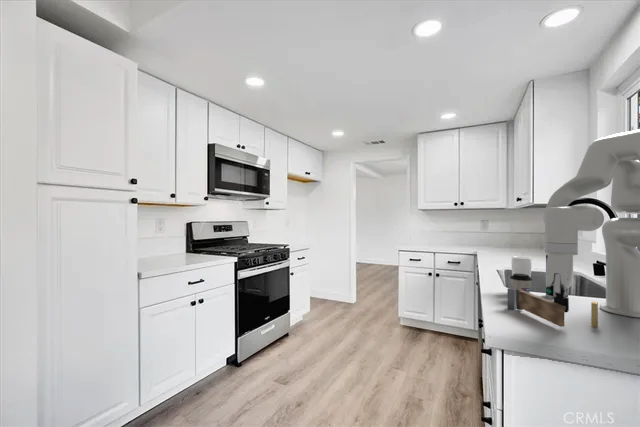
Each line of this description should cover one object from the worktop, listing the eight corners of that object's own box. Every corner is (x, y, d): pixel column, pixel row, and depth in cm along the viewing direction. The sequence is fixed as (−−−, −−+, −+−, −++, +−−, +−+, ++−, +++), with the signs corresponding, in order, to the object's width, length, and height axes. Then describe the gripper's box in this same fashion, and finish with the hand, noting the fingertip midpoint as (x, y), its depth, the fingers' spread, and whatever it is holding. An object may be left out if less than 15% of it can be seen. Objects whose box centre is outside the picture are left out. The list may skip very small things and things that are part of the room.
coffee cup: (505, 299, 115) (505, 273, 115) (519, 297, 117) (519, 272, 117) (522, 304, 108) (522, 277, 108) (536, 303, 110) (536, 276, 110)
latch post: (592, 325, 89) (592, 301, 89) (597, 326, 88) (597, 302, 88) (591, 326, 87) (591, 302, 87) (596, 327, 87) (596, 303, 87)
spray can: (558, 295, 121) (558, 245, 121) (566, 299, 115) (566, 247, 115) (543, 294, 122) (543, 245, 122) (550, 298, 117) (550, 247, 117)
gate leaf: (515, 308, 103) (515, 289, 103) (520, 308, 103) (520, 289, 103) (559, 329, 84) (559, 306, 84) (566, 329, 84) (566, 306, 84)
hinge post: (509, 307, 105) (509, 287, 105) (515, 309, 104) (515, 288, 104) (507, 308, 104) (507, 288, 104) (514, 310, 102) (514, 289, 102)
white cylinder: (534, 296, 119) (534, 258, 119) (515, 295, 120) (515, 258, 120) (526, 292, 126) (526, 256, 126) (508, 291, 127) (508, 256, 127)
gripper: (551, 245, 96) (551, 302, 96) (538, 249, 86) (539, 313, 86) (582, 247, 90) (582, 308, 90) (572, 252, 80) (572, 320, 80)
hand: (561, 310), depth 88 cm, fingers closed
